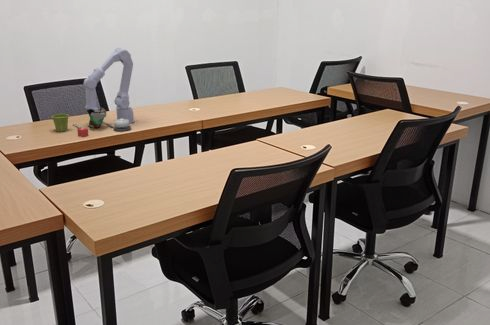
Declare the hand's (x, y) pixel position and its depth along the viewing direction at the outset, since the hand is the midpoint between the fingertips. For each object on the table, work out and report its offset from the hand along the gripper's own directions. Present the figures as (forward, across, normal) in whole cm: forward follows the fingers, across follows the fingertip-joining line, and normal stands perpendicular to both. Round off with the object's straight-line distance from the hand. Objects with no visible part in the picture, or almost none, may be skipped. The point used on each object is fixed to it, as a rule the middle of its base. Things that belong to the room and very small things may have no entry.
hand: (93, 121), depth 291 cm
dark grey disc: (+3, +15, +11) cm, 19 cm away
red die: (+3, +15, -12) cm, 20 cm away
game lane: (+3, -1, 0) cm, 3 cm away
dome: (+1, +15, +11) cm, 19 cm away
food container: (+2, +4, 0) cm, 4 cm away
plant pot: (+3, -3, -18) cm, 18 cm away
